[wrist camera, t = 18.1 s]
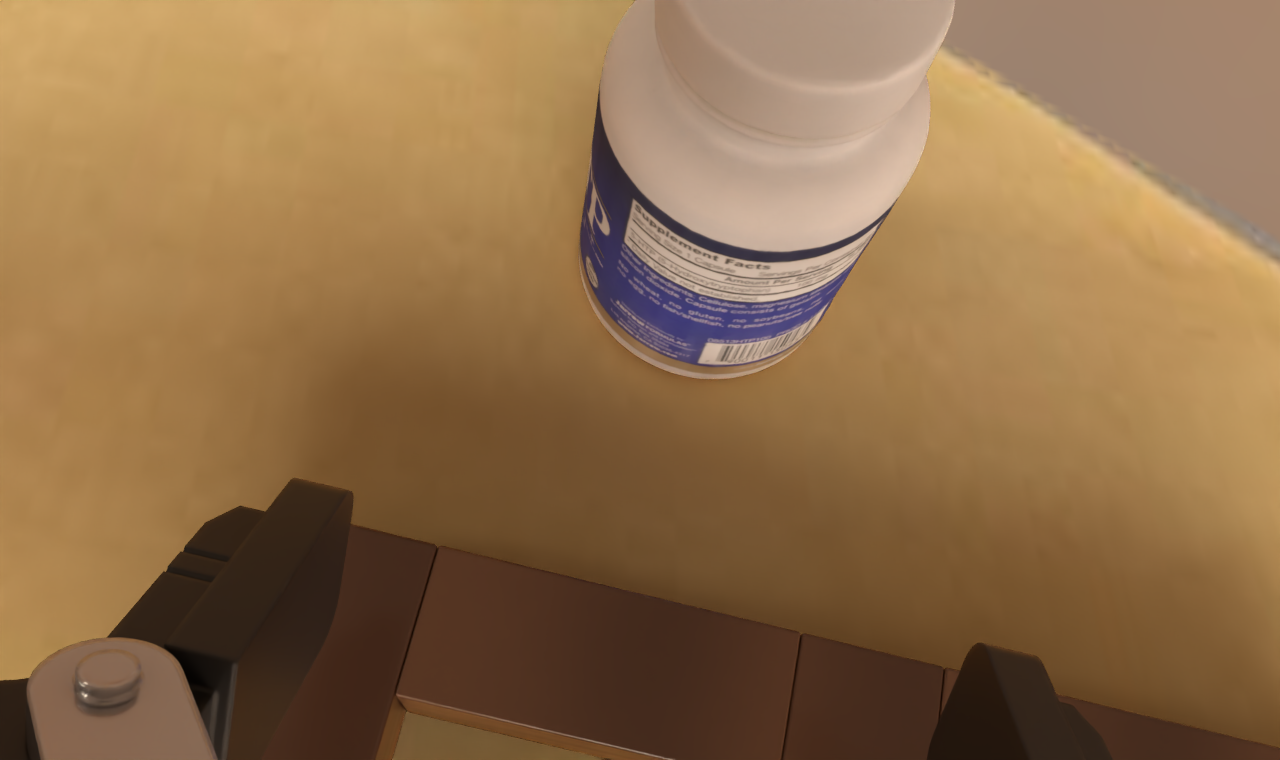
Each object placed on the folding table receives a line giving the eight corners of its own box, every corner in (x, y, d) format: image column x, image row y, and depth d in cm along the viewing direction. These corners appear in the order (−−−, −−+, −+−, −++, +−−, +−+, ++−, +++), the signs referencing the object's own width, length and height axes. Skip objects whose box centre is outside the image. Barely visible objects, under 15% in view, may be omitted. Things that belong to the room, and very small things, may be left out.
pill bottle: (618, 128, 24) (682, -233, 16) (849, 202, 24) (1032, -119, 16) (541, 341, 22) (568, 53, 14) (794, 422, 22) (972, 181, 14)
